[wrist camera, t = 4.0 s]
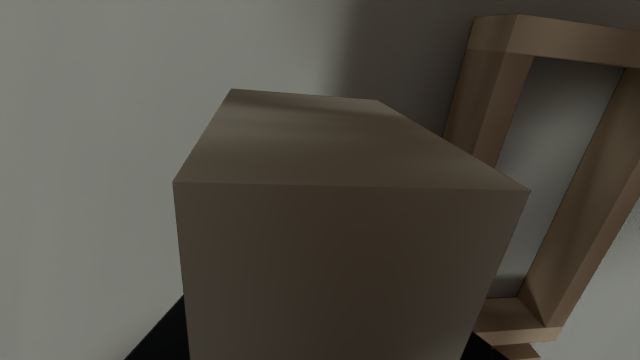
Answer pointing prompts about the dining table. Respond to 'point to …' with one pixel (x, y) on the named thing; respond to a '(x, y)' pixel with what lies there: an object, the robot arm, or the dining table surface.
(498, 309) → the jig board
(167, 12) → the dining table surface
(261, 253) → the beige rectangular block
